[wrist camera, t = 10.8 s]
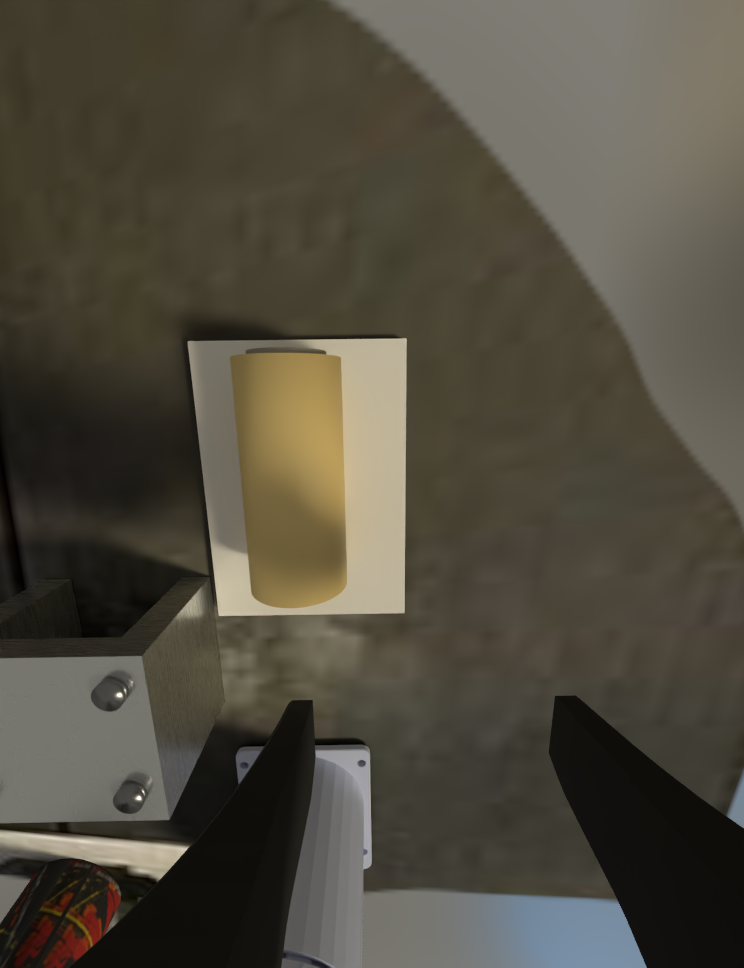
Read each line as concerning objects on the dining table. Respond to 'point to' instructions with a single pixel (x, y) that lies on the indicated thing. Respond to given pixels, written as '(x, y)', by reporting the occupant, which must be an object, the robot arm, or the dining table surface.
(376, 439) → the plate
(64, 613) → the bearing block
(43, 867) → the deodorant
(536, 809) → the dining table surface
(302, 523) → the tall yellow cylinder
